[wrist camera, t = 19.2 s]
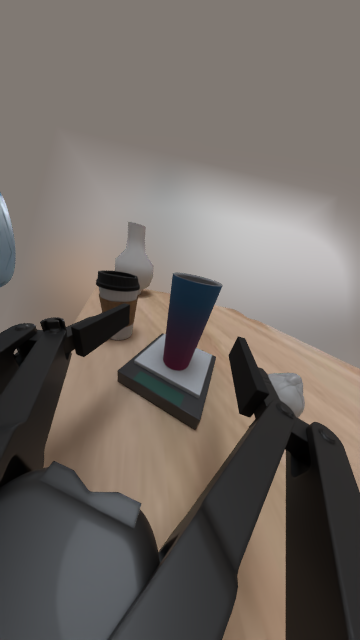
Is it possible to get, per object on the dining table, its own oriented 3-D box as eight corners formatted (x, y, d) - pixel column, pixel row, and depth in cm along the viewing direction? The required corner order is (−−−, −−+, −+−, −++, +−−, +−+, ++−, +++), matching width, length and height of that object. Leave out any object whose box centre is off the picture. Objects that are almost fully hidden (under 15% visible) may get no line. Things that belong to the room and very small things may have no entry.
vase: (116, 286, 66) (114, 220, 54) (147, 289, 73) (153, 232, 61) (114, 297, 53) (112, 213, 41) (153, 299, 60) (162, 229, 48)
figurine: (240, 391, 24) (260, 361, 21) (266, 386, 27) (287, 358, 23) (269, 433, 19) (303, 401, 16) (298, 422, 21) (333, 393, 18)
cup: (156, 348, 26) (168, 270, 19) (187, 347, 28) (208, 277, 21) (160, 377, 20) (180, 280, 13) (199, 373, 22) (233, 289, 15)
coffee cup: (93, 341, 28) (85, 271, 21) (108, 323, 35) (105, 266, 29) (133, 345, 30) (136, 280, 23) (139, 326, 37) (143, 273, 30)
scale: (117, 381, 21) (117, 367, 20) (161, 341, 33) (162, 330, 32) (195, 430, 17) (201, 417, 16) (212, 364, 29) (217, 354, 28)
